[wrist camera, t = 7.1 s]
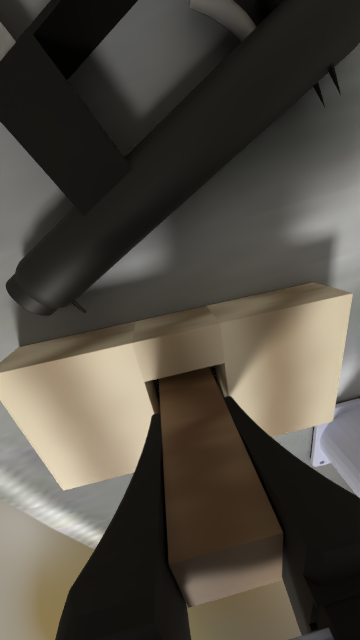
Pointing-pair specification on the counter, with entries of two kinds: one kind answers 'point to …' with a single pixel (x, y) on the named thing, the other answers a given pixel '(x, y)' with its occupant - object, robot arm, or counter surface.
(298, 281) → the counter surface
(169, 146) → the door handle
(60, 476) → the socket block
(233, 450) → the walnut peg
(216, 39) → the counter surface
